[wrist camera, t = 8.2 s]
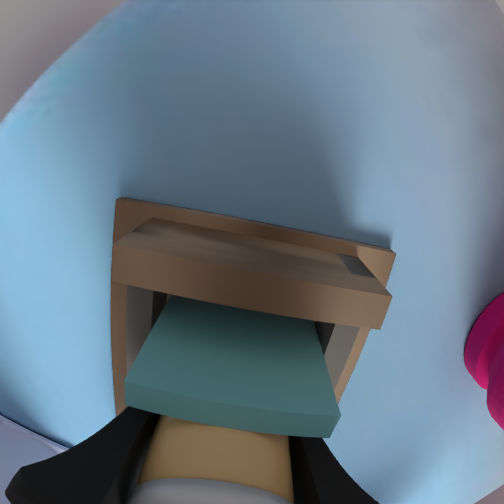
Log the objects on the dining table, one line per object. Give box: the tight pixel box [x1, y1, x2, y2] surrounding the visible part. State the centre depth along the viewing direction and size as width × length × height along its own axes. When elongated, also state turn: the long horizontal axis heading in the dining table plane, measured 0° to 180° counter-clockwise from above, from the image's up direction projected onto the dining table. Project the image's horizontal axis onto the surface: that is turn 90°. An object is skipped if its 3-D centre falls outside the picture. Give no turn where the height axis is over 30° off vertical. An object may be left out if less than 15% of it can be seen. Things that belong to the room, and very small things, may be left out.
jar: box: [127, 414, 294, 504], centre depth 10 cm, size 5×5×8 cm
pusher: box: [124, 295, 341, 438], centre depth 11 cm, size 6×1×6 cm, turn 79°
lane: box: [111, 197, 396, 416], centre depth 14 cm, size 12×17×4 cm
